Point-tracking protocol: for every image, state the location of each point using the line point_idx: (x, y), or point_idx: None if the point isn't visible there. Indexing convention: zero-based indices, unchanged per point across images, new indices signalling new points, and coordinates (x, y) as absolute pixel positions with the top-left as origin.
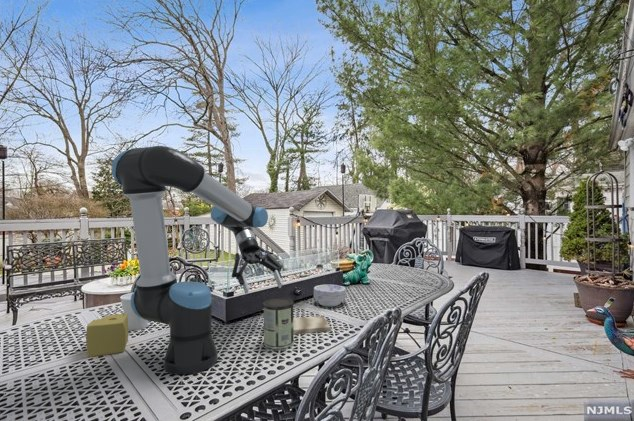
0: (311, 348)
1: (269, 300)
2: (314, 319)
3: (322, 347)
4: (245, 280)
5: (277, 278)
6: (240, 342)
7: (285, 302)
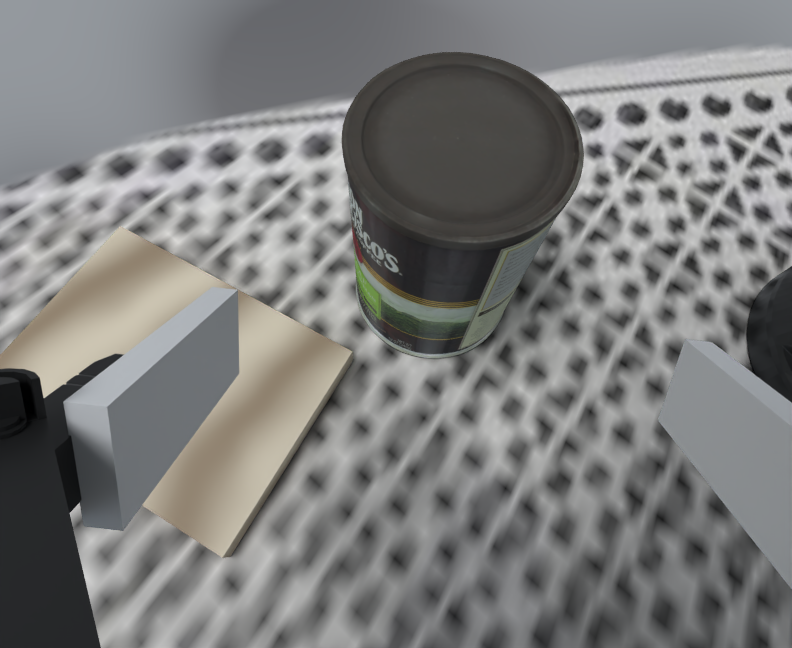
0: None
1: (490, 223)
2: (66, 375)
3: (311, 142)
4: (782, 408)
5: (191, 372)
6: (592, 424)
7: (416, 114)
